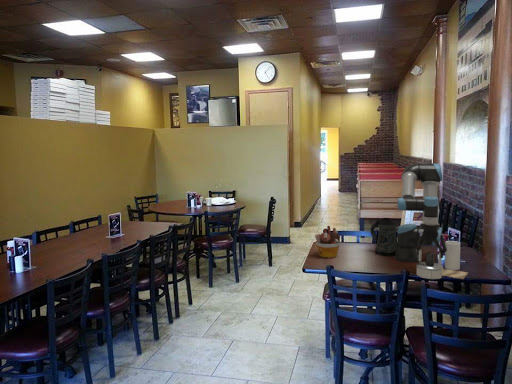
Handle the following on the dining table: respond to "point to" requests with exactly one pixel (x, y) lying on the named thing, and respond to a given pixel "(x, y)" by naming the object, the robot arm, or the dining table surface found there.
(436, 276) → the bowl
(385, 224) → the beer stein
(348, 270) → the dining table surface
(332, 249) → the bucket of meat
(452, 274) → the plate
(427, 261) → the lid
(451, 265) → the cup
